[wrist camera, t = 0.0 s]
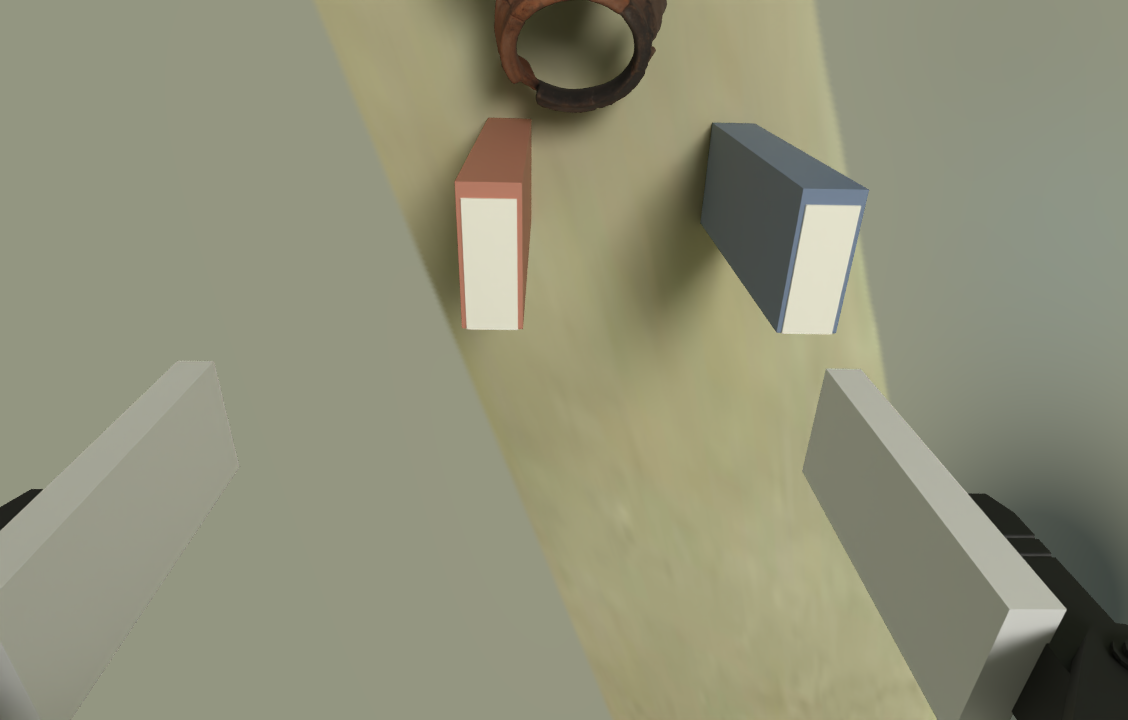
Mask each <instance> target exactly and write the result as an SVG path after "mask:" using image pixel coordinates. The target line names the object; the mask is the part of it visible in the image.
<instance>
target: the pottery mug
mask: <svg viewBox="0 0 1128 720" xmlns="http://www.w3.org/2000/svg"><path fill="white" fill-rule="evenodd" d="M561 1H568V0H496V4H495V23H494V29H495V36H496V42H497V47H498V52H499V54H500V58H501V62H502V67H503V69H504V71H505V73H506V74H507V76H508V78H509V79H510V81H511V82H512V83H513V84H515V83H517V82H520V81H521V82H522V83H524V84H525V85H527V86H529V87H531V88H532V89H533V90H536V91H537V94H536V101H537V103H538V105H540V106H542V107H545V108H548V109H552V110H555V111H563V112H574V113H577V112H580V113H581V112H587V111H592V110H595V109H596V108H603V107H605V106H608V105H612V104H613V103H615V102H616V101H618V100H620V99H621V98H623V97H625V96H626V95H627V94H629V93H630V92H631V91H632V90H633V89H634V88H635V87H636V86H637V85H638V83H639V82H640V80H641V79H642V77H643V76H644V74H645V69H646V68H647V66H648V62H649V61H650V59H651V57H652V56H653V54H654V53H655V51H656V49H655V48H654V47H652V41H653V40H654V39H655V38H656V36H657V33H658V31H659V30H660V27H661V23H662V15H663V13H664V11H665V9H666V6H667V1H666V0H589V1H591V2H595V3H599V4H601V5H603V6H606V7H608V8H609V9H611V10H613V11H614V12H616V13H617V14H620V15H621V16H622V17H623V18H624V20H625V21H626V23H627V24H628V26H629V27H630V29H631V31H632V34H633V38H634V54H633V57H632V59H631V61H630V63H629V65H628V66H627V67H626V68H625V70H624V71H623V72H622V73H621V74H620V75H619V76H617V77H616V78H615V79H613V80H611V81H609V82H607V83H605V84H602V85H598V86H594V87H589V88H583V89H565V88H559V87H556V86H553V85H551V84H548V83H545V82H543V81H541V80H538V79H537V78H536V77H535V75H534V73H533V71H532V69H531V67H530V64H529V63H528V61H527V60H525V59H524V58H522V57H520V56H519V55H518V54H517V48H516V45H517V39H518V35H519V33H520V31H521V29H522V27H523V25H524V23H525V21H526V20H527V19H528V18H530V17H531V16H532V15H533V14H534V13H535V12H537V11H539V10H541V9H542V8H544V7H546V6H548V5H551V4H554V3H557V2H561Z"/></svg>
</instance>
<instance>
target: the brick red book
mask: <svg viewBox="0 0 1128 720" xmlns="http://www.w3.org/2000/svg"><path fill="white" fill-rule="evenodd" d="M455 198H456V218H457V238H458V258H459V277H460V297H461V317H462V328H467V329H484V330H518V329H523V320H524V307H525V294H526V281H527V268H528V255H529V242H530V229H531V119H521V118H488V119H487V121H486V123H485V125H484V127H483V129H482V130H481V132H480V134H479V136H478V138H477V140H476V142H475V144H474V146H473V148H472V149H471V151H470V153H469V155H468V157H467V159H466V161H465V163H464V165H463V167H462V168H461V170H460V172H459V174H458V176H457V178H456V180H455Z"/></svg>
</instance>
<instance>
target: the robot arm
mask: <svg viewBox="0 0 1128 720" xmlns="http://www.w3.org/2000/svg"><path fill="white" fill-rule="evenodd" d="M238 468H239V462H238V458H237V454H236V450H235V445H234V441H233V437H232V433H231V429H230V425H229V421H228V417H227V412H226V409H225V404H224V400H223V396H222V392H221V388H220V383H219V379H218V375H217V371H216V367H215V363H214V361H176V363H174V364H173V365H172V366H171V367H170V368H169V369H168V370H167V371H166V372H165V373H164V374H163V375H162V376H161V377H160V378H159V379H158V380H157V381H156V382H155V383H154V384H153V385H152V386H150V387H149V388H148V389H147V390H146V391H145V392H144V393H143V394H142V395H141V396H140V397H139V398H138V399H137V400H136V401H135V402H134V403H133V404H132V405H131V406H130V407H129V408H128V409H127V410H126V411H124V412H123V414H121V415H120V416H119V417H118V418H117V419H116V420H115V421H114V422H113V423H112V424H111V425H110V426H109V427H108V428H107V429H106V430H105V431H104V432H103V433H102V434H101V435H100V436H98V437H97V438H96V439H95V440H94V441H93V442H92V443H91V444H90V445H89V446H88V447H87V448H86V449H85V450H84V451H83V452H82V453H81V454H80V455H79V456H78V457H77V458H76V459H75V460H73V461H72V463H70V465H68V466H67V467H66V468H65V469H64V470H63V471H62V472H61V473H60V474H59V475H58V476H57V477H56V478H55V479H54V480H53V481H52V482H51V483H50V484H49V485H48V486H46V487H45V488H44V489H31V490H29V491H27V492H26V493H24V494H22V495H20V496H19V497H17V498H15V499H13V500H12V501H10V502H8V503H7V504H5V505H3V506H1V507H0V720H71V719H72V718H73V716H74V715H75V713H76V712H77V710H78V709H79V707H80V705H81V704H82V702H83V701H84V700H85V698H86V696H87V695H88V693H89V692H90V691H91V689H92V687H93V686H94V685H95V683H96V682H97V680H98V679H99V677H100V675H101V674H102V673H103V671H104V669H105V668H106V667H107V665H108V664H109V662H110V660H111V659H112V657H113V656H114V655H115V653H116V652H117V650H118V649H119V647H120V646H121V644H122V643H123V641H124V639H125V638H126V637H127V635H128V634H129V632H130V631H131V629H132V628H133V626H134V624H135V623H136V621H137V620H138V619H139V617H140V616H141V614H142V613H143V611H144V610H145V608H146V607H147V605H148V604H149V602H150V601H151V599H152V597H153V596H154V595H155V593H156V592H157V590H158V588H159V587H160V585H161V584H162V583H163V581H164V580H165V578H166V577H167V575H168V573H169V572H170V571H171V569H172V568H173V566H174V564H175V563H176V561H177V560H178V558H179V557H180V556H181V554H182V553H183V551H184V549H185V548H186V547H187V545H188V544H189V542H190V541H191V539H192V538H193V536H194V535H195V533H196V531H197V530H198V529H199V527H200V526H201V524H202V523H203V521H204V519H205V518H206V517H207V515H208V514H209V512H210V510H211V509H212V508H213V506H214V505H215V503H216V502H217V500H218V499H219V497H220V495H221V494H222V493H223V491H224V490H225V488H226V486H227V485H228V484H229V482H230V480H231V479H232V478H233V476H234V475H235V473H236V472H237V470H238ZM802 472H803V473H804V475H805V477H806V479H807V481H808V483H809V484H810V486H811V488H812V490H813V492H814V494H815V495H816V497H817V499H818V501H819V503H820V505H821V507H822V508H823V510H824V512H825V514H826V516H827V518H828V519H829V521H830V523H831V525H832V527H833V529H834V530H835V532H836V534H837V536H838V538H839V540H840V541H841V543H842V545H843V547H844V549H845V551H846V552H847V554H848V556H849V558H850V560H851V562H852V563H853V565H854V567H855V569H856V571H857V573H858V574H859V576H860V578H861V580H862V582H863V584H864V586H865V587H866V589H867V591H868V593H869V595H870V597H871V598H872V600H873V602H874V604H875V606H876V608H877V609H878V611H879V613H880V615H881V617H882V619H883V620H884V622H885V624H886V626H887V628H888V630H889V631H890V633H891V635H892V637H893V639H894V641H895V642H896V644H897V646H898V648H899V650H900V652H901V654H902V655H903V657H904V659H905V661H906V663H907V665H908V666H909V668H910V670H911V672H912V674H913V676H914V677H915V679H916V681H917V683H918V685H919V687H920V688H921V690H922V692H923V694H924V696H925V698H926V699H927V701H928V703H929V705H930V707H931V709H932V710H933V712H934V714H935V716H936V718H937V720H1010V719H1011V717H1012V715H1014V716H1015V718H1016V719H1017V720H1128V625H1126V624H1119V623H1115V622H1114V621H1113V620H1112V619H1111V618H1110V617H1109V616H1108V614H1107V613H1106V612H1105V611H1104V610H1103V609H1102V608H1101V607H1100V606H1099V605H1098V603H1096V601H1095V600H1094V599H1093V598H1092V597H1091V596H1090V595H1089V594H1088V593H1087V592H1086V590H1085V589H1084V588H1083V587H1082V586H1081V585H1080V584H1079V583H1078V582H1077V581H1076V579H1075V578H1074V577H1073V576H1072V575H1071V574H1070V573H1069V572H1068V571H1067V570H1066V569H1065V567H1064V566H1063V565H1062V564H1061V563H1060V562H1059V561H1058V560H1057V559H1056V558H1052V557H1051V552H1050V551H1049V550H1048V549H1047V548H1046V547H1045V546H1044V545H1043V543H1042V542H1040V540H1039V539H1035V538H1034V534H1033V533H1032V532H1031V530H1030V529H1029V528H1028V527H1027V526H1026V525H1025V524H1024V523H1023V522H1022V521H1021V520H1020V518H1019V517H1018V516H1017V515H1016V514H1015V513H1014V512H1012V511H1011V510H1009V509H1008V508H1006V507H1005V506H1003V505H1002V504H1000V503H999V502H997V501H996V500H994V499H993V498H991V497H990V496H988V495H987V494H967V493H966V491H965V490H964V489H963V488H962V487H961V486H960V484H959V483H958V482H957V481H956V480H955V478H954V477H953V476H952V475H951V474H950V473H949V471H947V469H946V468H945V467H944V466H943V464H942V463H941V462H940V461H939V460H938V459H937V457H936V456H935V455H934V454H933V453H932V452H931V450H930V449H928V447H927V446H926V445H925V443H924V442H923V441H922V440H921V439H920V438H919V437H918V436H917V434H916V433H915V432H914V431H913V429H911V427H910V426H909V425H908V424H907V422H906V421H905V420H904V419H903V418H902V417H901V416H900V414H899V413H898V412H897V411H896V410H895V408H894V407H893V406H892V405H891V404H890V403H889V401H888V400H887V399H886V398H885V397H884V396H883V394H882V393H881V392H880V391H879V390H878V389H877V387H876V386H875V385H874V384H873V383H872V382H871V380H870V379H869V378H868V377H867V376H866V375H865V373H864V372H863V371H862V370H861V369H826V371H825V375H824V380H823V384H822V388H821V393H820V397H819V401H818V405H817V410H816V414H815V418H814V423H813V427H812V431H811V436H810V440H809V444H808V449H807V453H806V457H805V462H804V466H803V470H802Z"/></svg>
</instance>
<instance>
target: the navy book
mask: <svg viewBox="0 0 1128 720" xmlns="http://www.w3.org/2000/svg"><path fill="white" fill-rule="evenodd" d="M868 192H869V190H868V189H867V188H865V187H863V186H862V185H860V184H858V183H856V182H855V181H853V180H851V179H850V178H848V177H846V176H844V175H843V174H841V173H839V172H837V171H836V170H834V169H832V168H831V167H829V166H827V165H825V164H824V163H822V162H820V161H818V160H817V159H815V158H813V157H812V156H810V155H808V154H806V153H805V152H803V151H801V150H799V149H798V148H796V147H794V146H793V145H791V144H789V143H787V142H786V141H784V140H782V139H781V138H779V137H777V136H775V135H774V134H772V133H770V132H768V131H767V130H765V129H763V128H762V127H760V126H758V125H756V124H749V123H712V131H711V140H710V148H709V156H708V165H707V173H706V181H705V190H704V198H703V206H702V215H701V224H702V226H703V227H704V229H705V230H706V232H707V233H708V235H709V236H710V237H711V239H712V240H713V242H714V243H715V245H716V246H717V247H718V249H719V250H720V252H721V253H722V255H723V256H724V258H725V259H726V260H727V262H728V263H729V265H730V266H731V268H732V269H733V270H734V272H735V273H736V275H737V276H738V278H739V279H740V281H741V282H742V283H743V285H744V286H745V288H746V289H747V291H748V292H749V294H750V295H751V296H752V298H753V299H754V301H755V302H756V304H757V305H758V306H759V308H760V309H761V311H762V312H763V314H764V315H765V317H766V318H767V319H768V321H769V322H770V324H771V325H772V327H773V328H774V329H775V331H776V332H777V333H782V334H832V333H836V330H837V326H838V321H839V317H840V313H841V308H842V304H843V300H844V295H845V291H846V287H847V282H848V278H849V274H850V269H851V265H852V261H853V257H854V252H855V248H856V244H857V239H858V235H859V231H860V226H861V222H862V218H863V213H864V209H865V205H866V201H867V196H868Z"/></svg>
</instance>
